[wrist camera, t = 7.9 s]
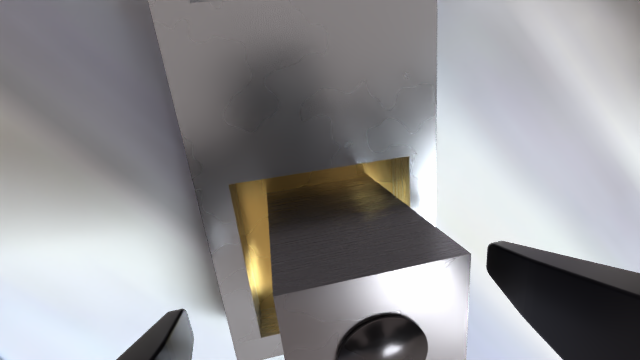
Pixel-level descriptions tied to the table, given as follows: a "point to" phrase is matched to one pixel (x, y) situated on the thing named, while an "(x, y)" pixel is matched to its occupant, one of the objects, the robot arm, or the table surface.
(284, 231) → the metal drawer with knob
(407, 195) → the metal tray
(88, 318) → the table surface
